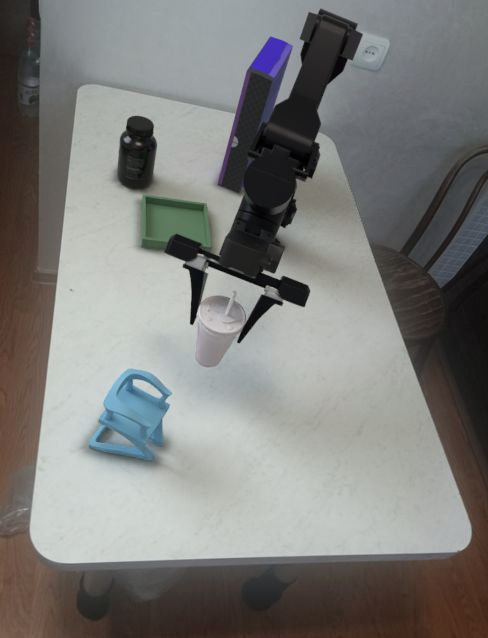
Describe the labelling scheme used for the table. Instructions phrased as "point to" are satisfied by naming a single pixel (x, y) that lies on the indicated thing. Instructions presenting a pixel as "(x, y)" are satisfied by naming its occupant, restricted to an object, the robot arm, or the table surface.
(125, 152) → the supplement bottle
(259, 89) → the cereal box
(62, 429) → the table surface
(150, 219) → the tray
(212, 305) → the smoothie
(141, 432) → the chair
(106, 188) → the table surface
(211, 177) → the table surface
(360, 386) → the table surface
